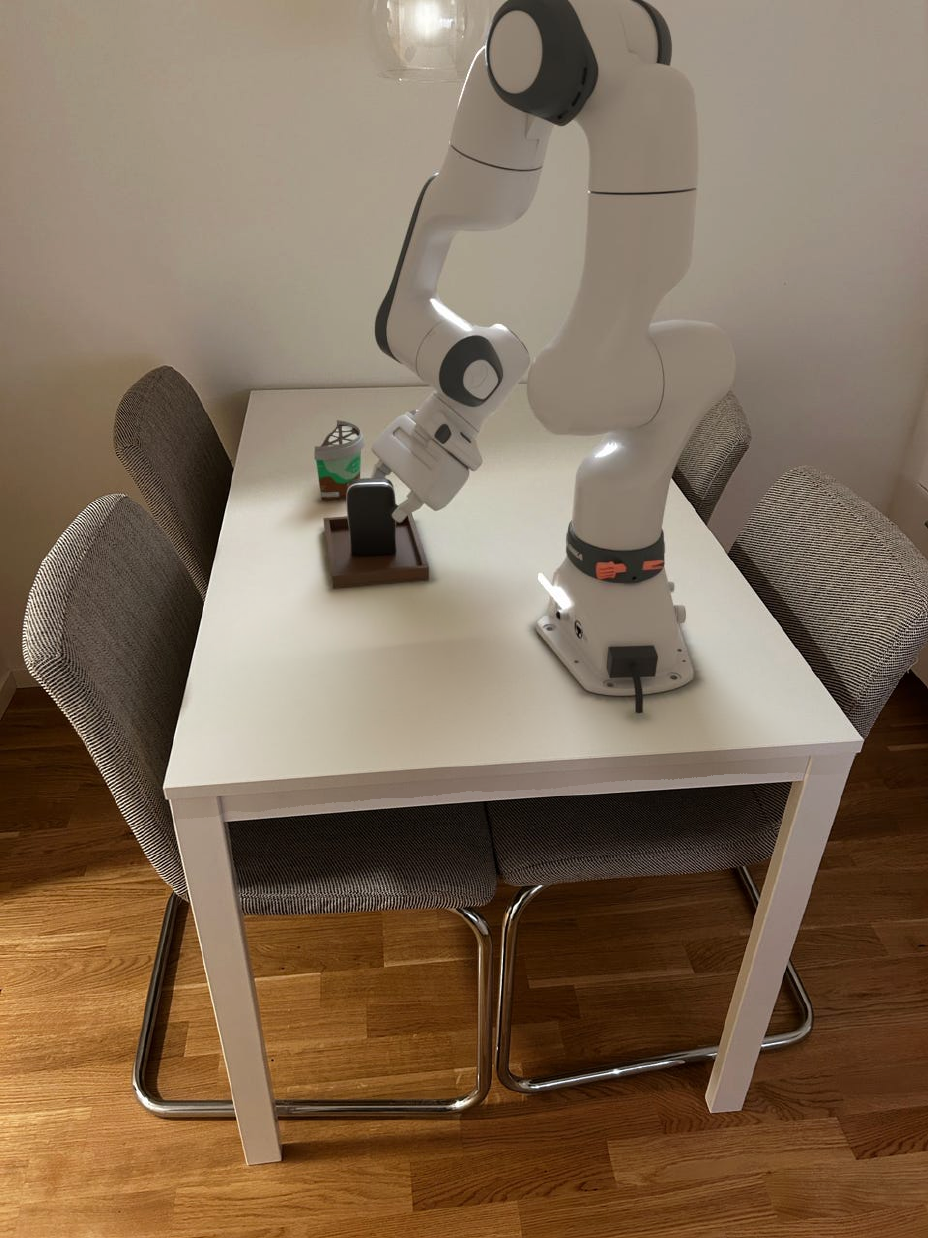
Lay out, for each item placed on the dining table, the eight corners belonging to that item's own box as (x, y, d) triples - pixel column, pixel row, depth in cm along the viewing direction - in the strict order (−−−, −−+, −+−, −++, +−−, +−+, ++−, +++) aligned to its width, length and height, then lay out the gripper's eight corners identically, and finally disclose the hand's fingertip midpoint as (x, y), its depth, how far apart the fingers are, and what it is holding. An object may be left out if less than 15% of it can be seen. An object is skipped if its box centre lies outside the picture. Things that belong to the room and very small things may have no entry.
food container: (354, 508, 151) (351, 450, 146) (318, 504, 152) (313, 447, 147) (376, 476, 162) (373, 421, 156) (341, 473, 163) (337, 418, 157)
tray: (429, 580, 133) (429, 567, 132) (333, 589, 131) (331, 576, 130) (411, 522, 148) (411, 510, 146) (324, 529, 145) (323, 517, 144)
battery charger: (396, 543, 141) (394, 473, 135) (397, 556, 138) (395, 485, 132) (350, 545, 140) (345, 475, 134) (349, 557, 137) (344, 486, 131)
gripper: (399, 393, 139) (341, 466, 141) (459, 442, 124) (393, 523, 126) (427, 417, 143) (370, 487, 145) (488, 468, 128) (424, 545, 130)
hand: (381, 504), depth 135 cm, fingers open, 8 cm apart
